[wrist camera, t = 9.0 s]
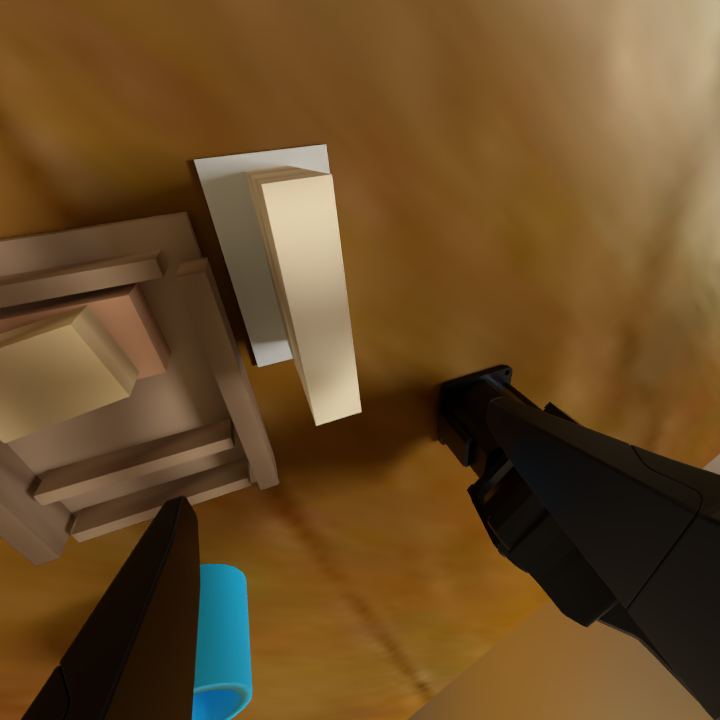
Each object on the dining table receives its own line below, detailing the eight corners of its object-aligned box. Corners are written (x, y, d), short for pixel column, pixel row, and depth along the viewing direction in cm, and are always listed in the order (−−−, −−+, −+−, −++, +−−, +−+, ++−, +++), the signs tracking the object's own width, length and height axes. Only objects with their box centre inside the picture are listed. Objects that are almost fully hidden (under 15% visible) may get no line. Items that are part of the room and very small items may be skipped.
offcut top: (87, 304, 14) (70, 324, 13) (139, 371, 16) (129, 396, 15) (-45, 348, 13) (-81, 375, 12) (27, 413, 16) (4, 443, 14)
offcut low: (137, 280, 16) (128, 295, 15) (171, 352, 18) (166, 372, 17) (-42, 314, 15) (-75, 334, 13) (18, 388, 17) (-4, 413, 15)
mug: (132, 581, 27) (103, 720, 20) (242, 552, 30) (247, 668, 23) (164, 650, 33) (149, 775, 26) (253, 621, 36) (260, 728, 29)
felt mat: (324, 144, 17) (326, 144, 16) (350, 341, 23) (351, 343, 22) (194, 159, 15) (193, 159, 15) (257, 364, 21) (258, 367, 21)
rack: (193, 210, 16) (187, 222, 13) (279, 465, 26) (286, 503, 23) (-181, 266, 13) (-287, 296, 10) (76, 531, 23) (56, 583, 20)
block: (319, 332, 21) (361, 411, 15) (286, 340, 21) (316, 425, 14) (288, 165, 16) (331, 174, 10) (245, 170, 16) (261, 184, 9)
